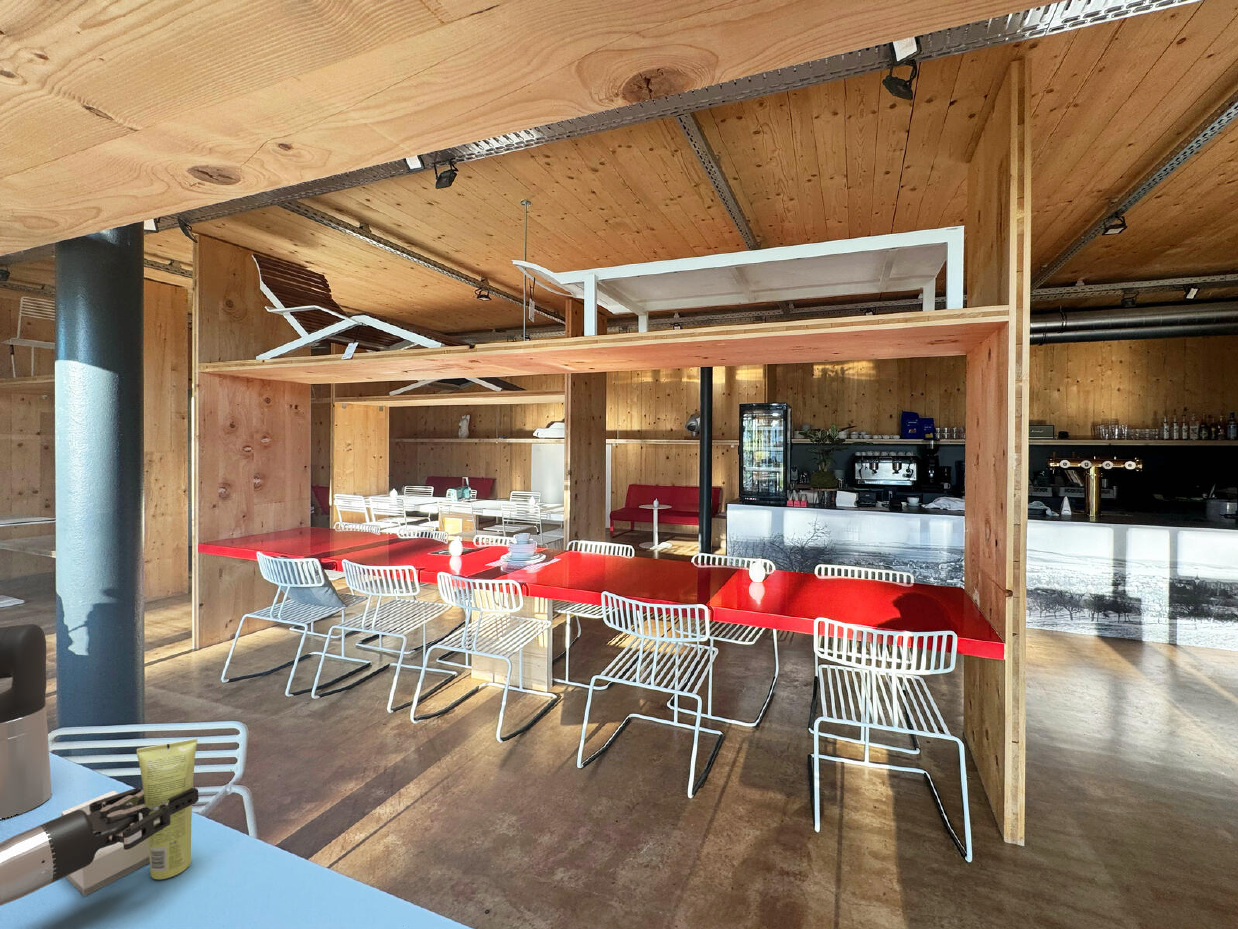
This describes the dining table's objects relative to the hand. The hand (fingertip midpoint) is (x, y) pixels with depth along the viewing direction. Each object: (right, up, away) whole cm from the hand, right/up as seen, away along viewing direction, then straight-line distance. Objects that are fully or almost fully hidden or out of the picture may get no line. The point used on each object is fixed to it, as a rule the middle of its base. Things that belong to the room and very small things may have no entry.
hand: (188, 789), depth 91 cm
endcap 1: (-21, -12, +8) cm, 25 cm away
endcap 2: (-12, -11, +1) cm, 17 cm away
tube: (-1, -11, -2) cm, 12 cm away
